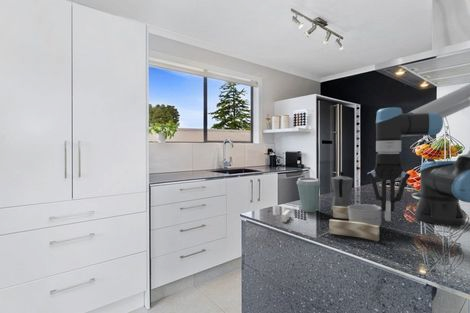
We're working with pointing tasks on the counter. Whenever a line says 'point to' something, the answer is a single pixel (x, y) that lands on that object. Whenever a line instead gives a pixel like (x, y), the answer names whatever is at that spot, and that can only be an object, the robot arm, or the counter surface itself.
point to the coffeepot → (341, 190)
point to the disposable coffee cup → (308, 193)
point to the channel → (351, 226)
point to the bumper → (286, 216)
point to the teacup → (365, 214)
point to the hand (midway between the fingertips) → (387, 220)
